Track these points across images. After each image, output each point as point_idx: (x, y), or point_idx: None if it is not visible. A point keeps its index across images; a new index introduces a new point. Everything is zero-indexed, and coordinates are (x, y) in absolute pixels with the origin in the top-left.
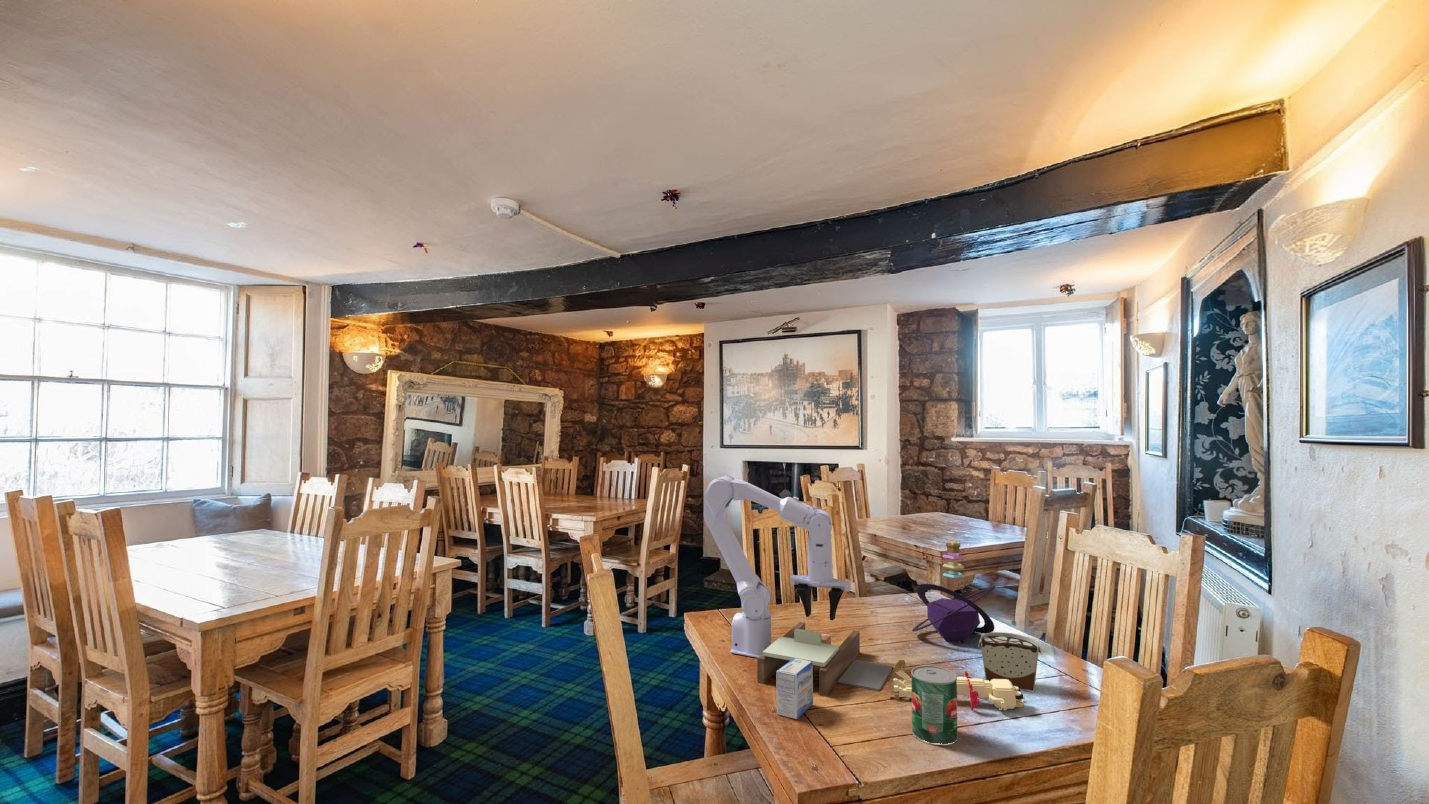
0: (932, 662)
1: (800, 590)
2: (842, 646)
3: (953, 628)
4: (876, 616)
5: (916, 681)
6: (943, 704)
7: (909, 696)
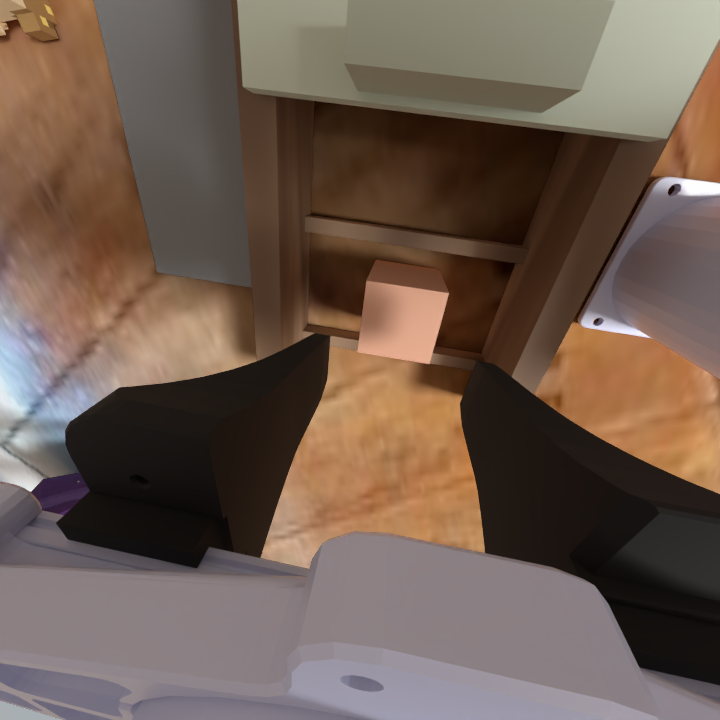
0: (98, 346)
1: (715, 511)
2: (264, 192)
3: (76, 485)
4: (310, 563)
5: None
6: None
7: None
